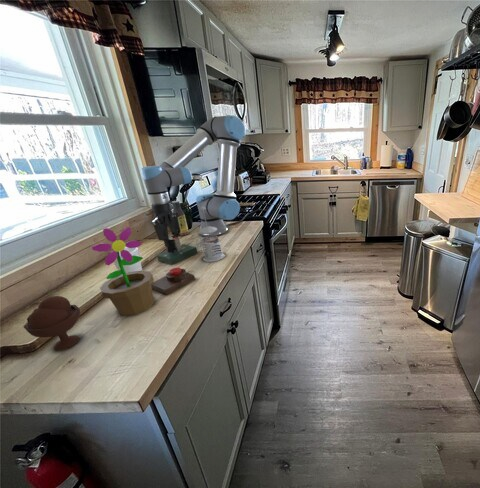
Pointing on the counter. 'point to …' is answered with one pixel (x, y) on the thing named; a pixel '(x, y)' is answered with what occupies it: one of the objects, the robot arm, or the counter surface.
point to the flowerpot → (125, 276)
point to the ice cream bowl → (54, 321)
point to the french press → (216, 247)
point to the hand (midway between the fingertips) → (174, 250)
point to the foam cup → (132, 267)
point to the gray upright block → (175, 244)
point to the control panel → (177, 254)
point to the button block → (172, 282)
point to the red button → (175, 271)
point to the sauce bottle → (180, 218)
